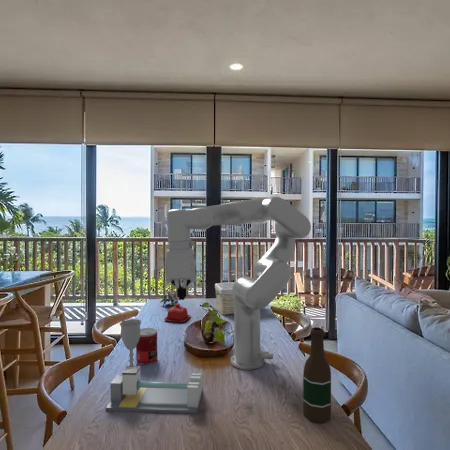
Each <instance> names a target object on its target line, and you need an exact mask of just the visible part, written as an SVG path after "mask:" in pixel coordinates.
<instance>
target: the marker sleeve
mask: <svg viewBox="0 0 450 450" xmlns="http://www.w3.org/2000/svg"><path fill="white" fill-rule="evenodd" d="M121 375H122V381H123V394H128V395H136V394H137V392H138V391H139V389H140V388H139V387H137V382H141V366H140V365H139V366H136V365H134V366H130V365H128V366H126V367H125V368H124V369H123V371H122V373H121Z"/></svg>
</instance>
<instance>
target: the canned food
mask: <svg viewBox="0 0 450 450" xmlns="http://www.w3.org/2000/svg"><path fill="white" fill-rule="evenodd" d="M135 354H136V355H135V358H136V362H137V363H138V364H140V365H141V364H142V365H149V364H154V363H155V362H156V361H157V360H158V329H156V328H152V327H147V328H146V327H144V328H143V327H142V328H140V338H139V341H138V343H137V345H136V348H135Z"/></svg>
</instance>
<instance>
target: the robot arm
mask: <svg viewBox="0 0 450 450" xmlns="http://www.w3.org/2000/svg"><path fill="white" fill-rule="evenodd" d="M166 219H167V223H166V224H167V241H168V249H167V250H166V254H165V263H164V265H165V268H164V269H165V273H164V274H165V279H164V280H165V283H169V284H172V285H173V287H175V288H176V292H177V298H178V301H181V300H182V301H184V300H185V298H186V297H187V294H188V293H187V287H188V286H189V285H190V284H191V283H194V282H195V283H196V282H197V280H198V278H197V263H196V253H195V250H194V248H192V247H194V246H196V241H192V239H191V230H198V231H199V230H201V231H203V230H205V231H206V230H208V229H209V228H211V227H214V226H226V225H227V226H238V225H239V226H240V225H247V224H251V223H252V224H253V223H259V222H266V221H274V222H275V224H274V225H275V226H274V231H275V240H274V242H273V244H272V245H271V247H270V248H269V249H268V250H266V252H265V253H264V254H263V255H262V257H261V258H260V259H259V260H257V262H256V263H255V264H254V267H253V274H254V276H255V277H256V279H255V278H253V277H250V276H241V277H239V278H237V279H236V280H235V281H234V282H235V283H234V285H233V288H232V296H233V302H234V314H233V315H234V316H233V318H234V320H233V321H234V322H233V323H234V324H233V326H234V327H233V329H234V334H233V335H234V354H233V355H232V356H230V364H231V365H232V366H233V367H235V368H237V369H241V370H246V371H247V370H256V369H260V368H261V367H264V365H265V362H266V361H265V360H274V354H273V353H270V351H263V350H262V347H261V310H263V309H265V308H267V307H268V306H269V305H270V304H271V303H272V302H273V301H274V300H275V298H276V297H277V296H278V295H279V294H280V292H281V291H283V289H284V288H285V287H286V286H287V284H288V283H289V281H290V279H291V275H292V271H291V267H290V265H289V264H288V263H289V261H290V260H291V259H292V258H293V256H294V254H295V250H296V239H297V240H299V239H300V240H301V239H305V238H306V237H308V236H309V234H310V232H311V230H312V229H311V228H312V226H311V222H310V220H309V218H308V217H307V216H306V215H304V214H303V213H302V212H301V211H300V210H298V209H297V208H296V207H295V206H293V205H292V204H291V203H289V202H288V200H285V199H284V198H282V197H280V196H272V197H271V196H269V197H259V198H252V199H246V200H239V201H231V202H230V201H229V202H227V203H221V204H215V205H210V206H209V205H207V206H202V207H195V208H191V209H186V208H184V209H183V208H178V209H170V210H168V211H167V214H166ZM180 280H182V285H181V282H180Z"/></svg>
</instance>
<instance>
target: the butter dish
mask: <svg viewBox="0 0 450 450" xmlns="http://www.w3.org/2000/svg"><path fill="white" fill-rule="evenodd" d="M188 313H189V312H188V309H187V308H186V307H185V306H181V304H180V303H179V302H178V303H177V304H175V306H172V307H170V308H169V309H168V311H167V315H166V317H164V319H163V320H164V321H167V322H175V323H184V322H186V320H188V319H189V318H190V317H192V314H188Z"/></svg>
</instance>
